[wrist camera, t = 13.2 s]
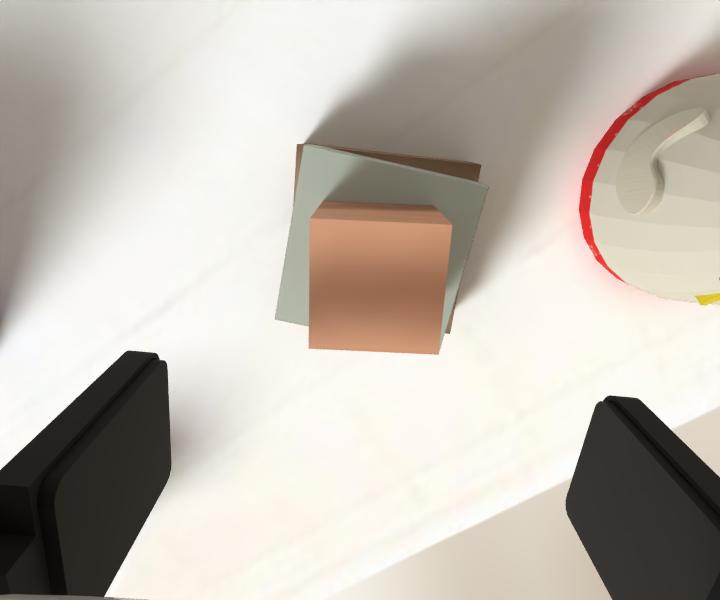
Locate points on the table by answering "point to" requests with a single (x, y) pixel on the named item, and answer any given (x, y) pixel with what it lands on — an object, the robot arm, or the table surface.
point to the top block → (373, 185)
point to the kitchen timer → (660, 193)
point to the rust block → (377, 277)
